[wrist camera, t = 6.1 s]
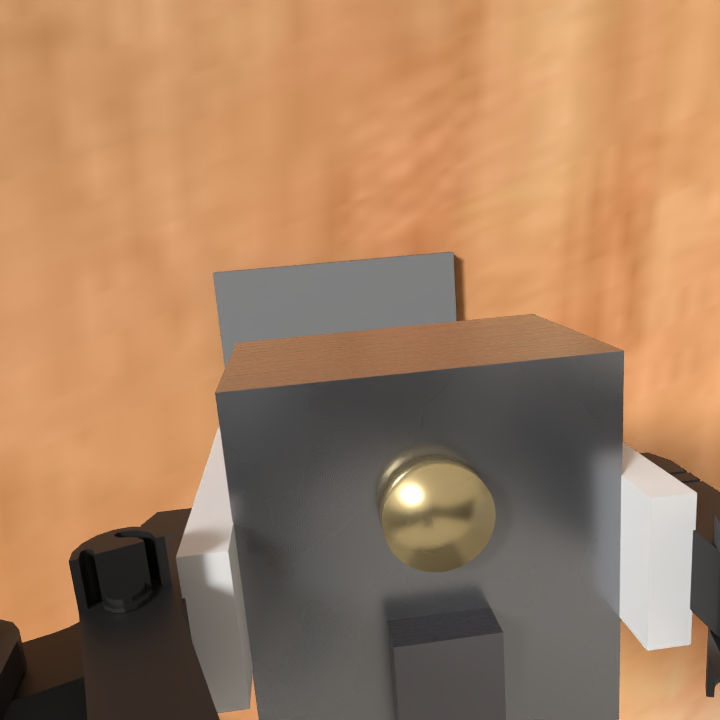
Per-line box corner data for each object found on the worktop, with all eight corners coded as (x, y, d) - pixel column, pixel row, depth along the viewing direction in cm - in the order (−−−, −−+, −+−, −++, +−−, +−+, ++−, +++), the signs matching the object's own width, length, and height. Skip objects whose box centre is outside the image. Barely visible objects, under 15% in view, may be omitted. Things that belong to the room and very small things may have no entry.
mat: (237, 453, 29) (236, 458, 28) (214, 272, 27) (212, 273, 26) (458, 428, 30) (461, 432, 29) (449, 251, 28) (453, 252, 27)
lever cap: (538, 596, 16) (638, 749, 11) (271, 632, 15) (264, 809, 11) (533, 314, 14) (646, 360, 10) (235, 342, 14) (210, 405, 9)
